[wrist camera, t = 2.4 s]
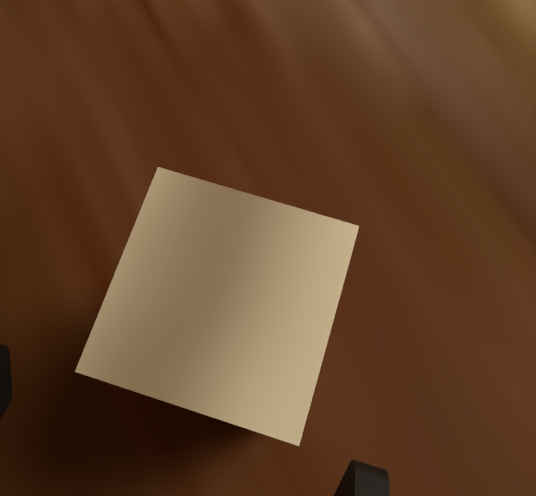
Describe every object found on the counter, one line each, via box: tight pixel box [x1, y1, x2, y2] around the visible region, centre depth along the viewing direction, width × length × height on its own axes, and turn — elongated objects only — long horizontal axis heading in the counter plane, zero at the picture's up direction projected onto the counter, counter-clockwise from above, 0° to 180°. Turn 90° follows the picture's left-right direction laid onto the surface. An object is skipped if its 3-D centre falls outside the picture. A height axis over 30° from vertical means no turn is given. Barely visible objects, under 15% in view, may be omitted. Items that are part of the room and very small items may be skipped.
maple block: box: [75, 167, 359, 446], centre depth 15 cm, size 5×5×9 cm
